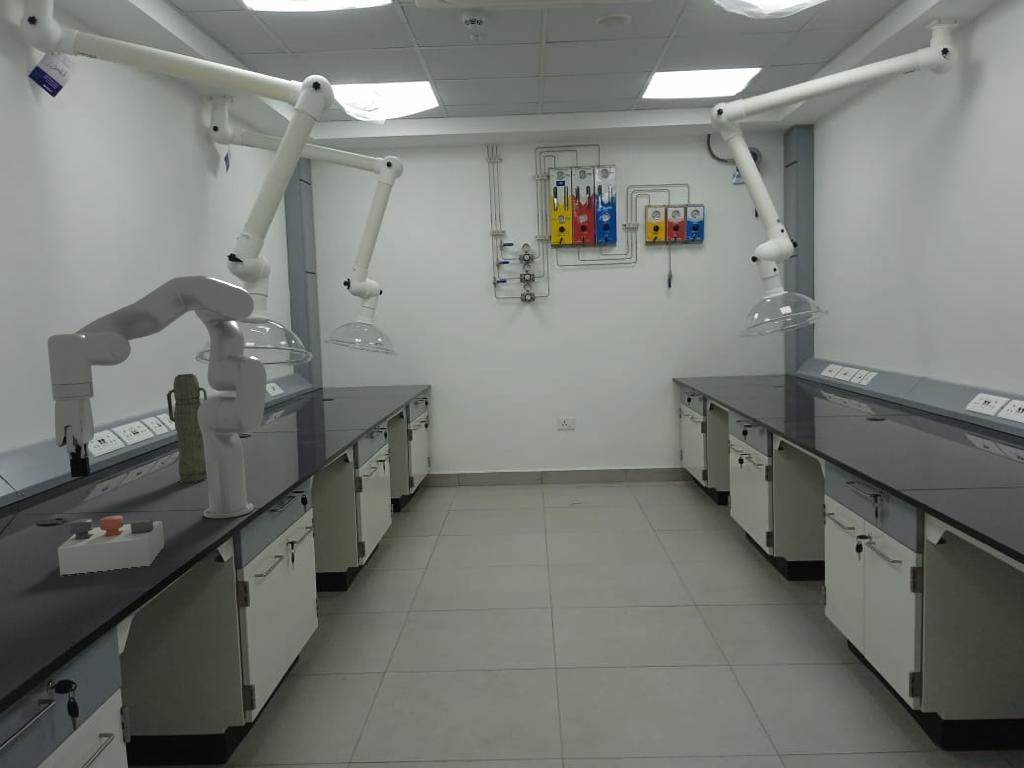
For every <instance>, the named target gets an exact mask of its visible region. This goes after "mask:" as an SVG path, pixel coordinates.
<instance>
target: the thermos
mask: <svg viewBox="0 0 1024 768" xmlns="http://www.w3.org/2000/svg"><path fill="white" fill-rule="evenodd" d="M201 391H202V392H203V398H204V399H203V401H205V400H206V399H208V395H207V390H206V389H205V388H204V387H201V386H200V382H199V379H198V377H197V375H196V374H193V373H183V374H177V375H175V377H174V381H173V389H171V390H168V393H167V394H166V399H167V401H166V402H167V408H168V415H169V416H168V417H169V419H168V420H170V421H171V422H173V423H174V427H175V428H174V429H175V431H176V435H177V444H178V445H177V446H178V454H179V456H178V457H179V462H178V464H177V466H178V474H179V478H180V479H179V481H182V482H194V483H197V482H196V481H200V482H203V481H202V480H204V481H206V480H205V479H207V472H206V460H205V449H204V441H203V436H202V432H201V429H200V426H199V422H198V417H197V414H198V409H199V406H200V405H201V404H202V402H201V399H200V397H201V394H200V392H201ZM172 394H173V395H174V396H173V397H174V400H175V404H174V411H173V402H172ZM182 482H181V483H182Z"/></svg>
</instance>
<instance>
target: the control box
mask: <svg viewBox="0 0 1024 768" xmlns="http://www.w3.org/2000/svg"><path fill="white" fill-rule="evenodd" d="M153 528H154V529H153V530H152V531H149V532H146V533H139V534H134V533H131V523H129V524H128V523H127V524H123V527H121V528H119V535H118V536H108V537H107V535H106V530H101V528H100V526H97V527H93V530H91V531H88V533H89V539H80V540H76V534H72V536H71V537H70V538H68V539H67V540H66V541H65V542H64V543H62V544H61V545H60V546H58V547H57V555H58V556H57V557H58V564H59V573H60V574H59V575H60V576H61V575H62V574H75V573H85V574H87V573H86V572H94V573H98V572H97V571H103V572H108V571H107V570H111V571H115V570H114V569H120V570H123V569H122V568H128V569H132V568H131V567H137V568H142V567H141V566H146V567H150V566H151V565H152V563H154V561H155V559H156V558H157V557H156V556H158V555H159V554H160V553H161V551H162V550H163V548H164V547H165V540H164V539H165V538H164V528H163V520H157V521H153ZM163 546H164V547H163ZM161 549H162V550H161ZM158 553H159V554H158ZM155 557H156V558H155ZM153 560H154V561H153ZM150 564H151V565H150Z"/></svg>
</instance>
